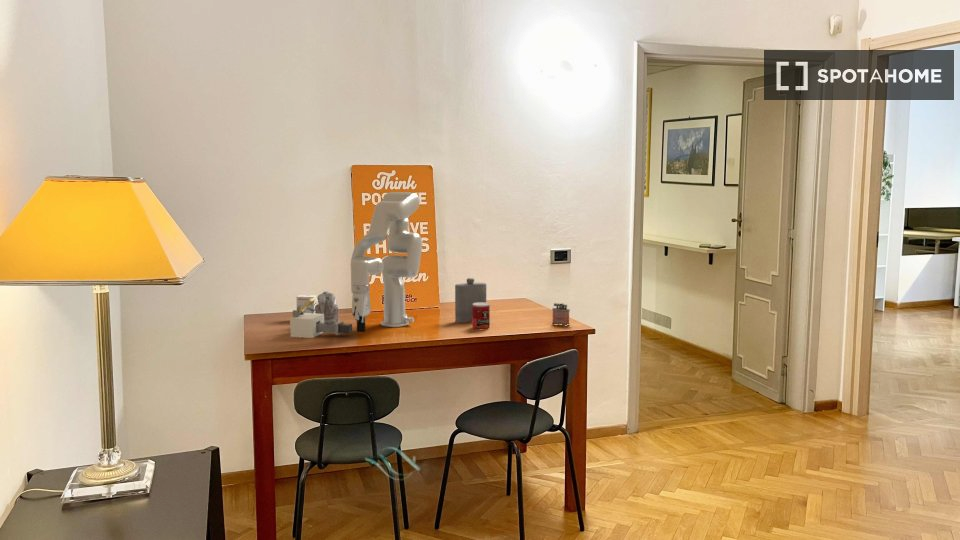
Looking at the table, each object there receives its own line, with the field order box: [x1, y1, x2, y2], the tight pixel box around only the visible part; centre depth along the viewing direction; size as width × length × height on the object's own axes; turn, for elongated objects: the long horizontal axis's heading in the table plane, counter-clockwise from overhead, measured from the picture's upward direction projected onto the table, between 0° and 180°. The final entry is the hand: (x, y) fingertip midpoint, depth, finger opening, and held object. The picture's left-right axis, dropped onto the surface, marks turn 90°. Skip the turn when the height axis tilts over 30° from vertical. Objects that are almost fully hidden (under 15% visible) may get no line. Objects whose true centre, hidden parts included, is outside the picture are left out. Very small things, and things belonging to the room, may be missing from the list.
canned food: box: [471, 302, 491, 330], centre depth 332 cm, size 8×8×11 cm
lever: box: [298, 298, 315, 315], centre depth 319 cm, size 10×4×2 cm
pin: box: [316, 320, 353, 336], centre depth 317 cm, size 19×6×5 cm, turn 78°
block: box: [289, 308, 324, 339], centre depth 319 cm, size 10×12×11 cm
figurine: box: [315, 291, 339, 323], centre depth 336 cm, size 10×11×15 cm
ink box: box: [296, 294, 318, 313], centre depth 348 cm, size 9×5×12 cm, turn 84°
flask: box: [454, 277, 487, 324], centre depth 346 cm, size 15×6×20 cm, turn 109°
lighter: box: [551, 302, 571, 325], centre depth 338 cm, size 8×3×10 cm, turn 65°
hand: (361, 331), depth 315 cm, fingers closed
